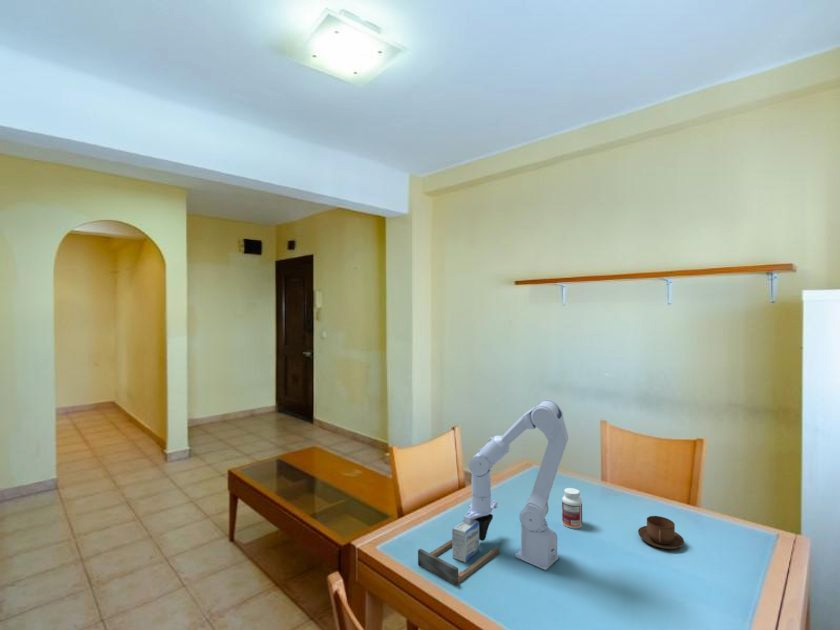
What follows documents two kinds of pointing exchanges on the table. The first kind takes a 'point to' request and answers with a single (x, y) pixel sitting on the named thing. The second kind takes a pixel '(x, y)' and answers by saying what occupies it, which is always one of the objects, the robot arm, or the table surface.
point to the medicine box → (465, 540)
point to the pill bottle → (572, 508)
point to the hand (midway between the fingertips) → (481, 538)
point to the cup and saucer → (661, 533)
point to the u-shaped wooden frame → (448, 570)
